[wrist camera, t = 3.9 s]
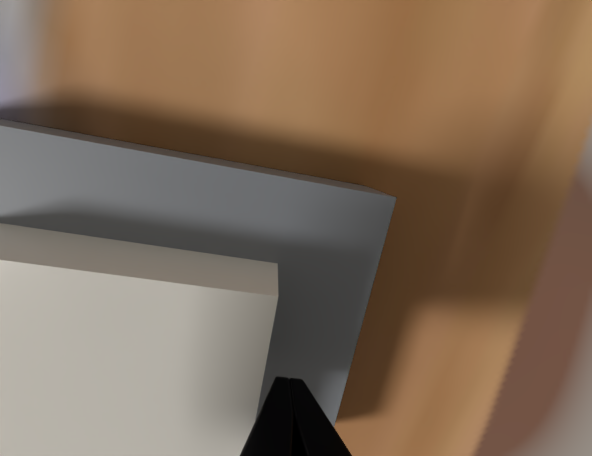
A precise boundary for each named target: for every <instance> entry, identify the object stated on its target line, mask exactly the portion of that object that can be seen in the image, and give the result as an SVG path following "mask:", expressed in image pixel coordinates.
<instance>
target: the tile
mask: <svg viewBox="0 0 592 456" xmlns="http://www.w3.org/2000/svg"><path fill="white" fill-rule="evenodd" d="M277 301H278V263H271V262H264V261H257V260H250V259H244V258H237V257H230V256H223V255H216V254H209V253H202V252H195V251H189V250H182V249H175V248H168V247H161V246H154V245H147V244H140V243H134V242H127V241H120V240H113V239H106V238H99V237H92V236H85V235H78V234H72V233H65V232H58V231H51V230H44V229H37V228H30V227H23V226H17V225H10V224H3V223H0V456H240V454H241V452H242V449H243V447H244V445H245V443H246V440H247V438H248V436H249V434H250V432H251V429H252V427H253V425H254V423H255V419H256V414H257V409H258V403H259V398H260V393H261V387H262V382H263V377H264V371H265V366H266V360H267V355H268V350H269V344H270V339H271V334H272V328H273V323H274V318H275V312H276V307H277Z"/></svg>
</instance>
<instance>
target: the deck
mask: <svg viewBox="0 0 592 456" xmlns="http://www.w3.org/2000/svg"><path fill="white" fill-rule="evenodd" d="M396 198H397V197H394V196H391V195H388V194H386V193H383V192H380V191H378V190H375V189H372V188H370V187H367V186H364V185H358V184H353V183H347V182H342V181H336V180H331V179H326V178H320V177H315V176H309V175H304V174H298V173H293V172H288V171H282V170H277V169H271V168H266V167H260V166H255V165H250V164H244V163H239V162H233V161H228V160H222V159H217V158H211V157H206V156H201V155H195V154H190V153H184V152H179V151H173V150H168V149H163V148H157V147H152V146H146V145H141V144H135V143H130V142H125V141H119V140H114V139H108V138H103V137H97V136H92V135H87V134H81V133H76V132H70V131H65V130H59V129H54V128H49V127H43V126H38V125H32V124H27V123H21V122H16V121H11V120H5V119H0V223H3V224H10V225H17V226H23V227H30V228H37V229H44V230H51V231H58V232H65V233H72V234H78V235H85V236H92V237H99V238H106V239H113V240H120V241H127V242H134V243H140V244H147V245H154V246H161V247H168V248H175V249H182V250H189V251H195V252H202V253H209V254H216V255H223V256H230V257H237V258H244V259H250V260H257V261H264V262H271V263H278V301H277V307H276V312H275V318H274V323H273V328H272V334H271V339H270V344H269V350H268V355H267V360H266V366H265V371H264V377H263V382H262V387H261V393H260V398H259V403H258V409H257V414H256V418H257V416H258V414H259V412H260V410H261V407H262V405H263V403H264V401H265V399H266V396H267V394H268V392H269V390H270V388H271V385H272V383H273V381H274V379H275V377H276V376H280V377H288V378H289V379H290V378H299V379H302V380H304V382H305V383H306V385H307V386H308V388H309V390H310V391H311V393H312V394H313V396H314V397H315V399H316V400H317V402H318V404H319V405H320V407H321V408H322V410H323V411H324V413H325V414H326V416H327V418H328V419H329V421H330V422H331V424H332V425H333V427H334V425H335V422H336V418H337V414H338V411H339V407H340V403H341V400H342V396H343V392H344V389H345V385H346V381H347V378H348V374H349V370H350V367H351V363H352V359H353V356H354V352H355V348H356V345H357V341H358V337H359V334H360V330H361V326H362V323H363V319H364V315H365V312H366V308H367V304H368V301H369V297H370V293H371V290H372V286H373V282H374V279H375V275H376V271H377V268H378V264H379V260H380V257H381V253H382V249H383V246H384V242H385V238H386V235H387V231H388V227H389V224H390V220H391V216H392V213H393V209H394V205H395V202H396ZM255 421H256V419H255Z"/></svg>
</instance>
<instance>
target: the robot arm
mask: <svg viewBox="0 0 592 456" xmlns="http://www.w3.org/2000/svg"><path fill="white" fill-rule="evenodd" d="M240 456H352V455H351V453H350V452H349V450H348V449H347V447H346V446H345V444H344V443H343V441H342V439H341V438H340V436H339V435H338V433H337V432H336V430H335V429H334V427H333V425H332V424H331V422H330V421H329V419H328V418H327V416H326V414H325V413H324V411H323V410H322V408H321V407H320V405H319V404H318V402H317V400H316V399H315V397H314V396H313V394H312V393H311V391H310V390H309V388H308V386H307V385H306V383H305V382H304V380H302V379H299V378H290V379H289V378H288V377H280V376H276V377H275V379H274V381H273V383H272V385H271V388H270V390H269V392H268V394H267V396H266V399H265V401H264V403H263V405H262V407H261V410H260V412H259V414H258V416H257V418H256V421H255V423H254V425H253V427H252V429H251V432H250V434H249V436H248V438H247V440H246V443H245V445H244V447H243V449H242V452H241V454H240Z"/></svg>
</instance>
